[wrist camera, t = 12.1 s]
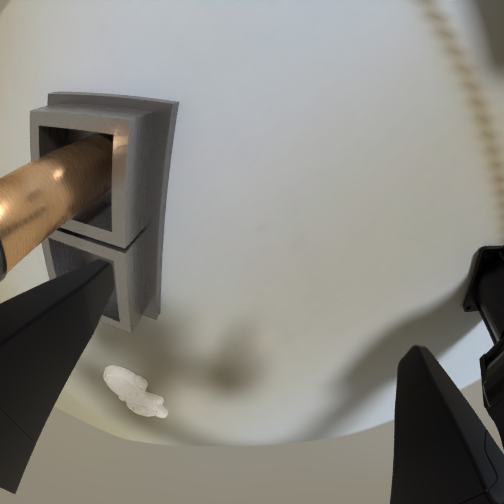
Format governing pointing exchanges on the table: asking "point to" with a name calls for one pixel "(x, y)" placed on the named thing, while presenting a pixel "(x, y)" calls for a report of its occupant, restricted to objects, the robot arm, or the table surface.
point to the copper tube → (50, 195)
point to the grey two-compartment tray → (114, 194)
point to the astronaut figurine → (134, 392)
